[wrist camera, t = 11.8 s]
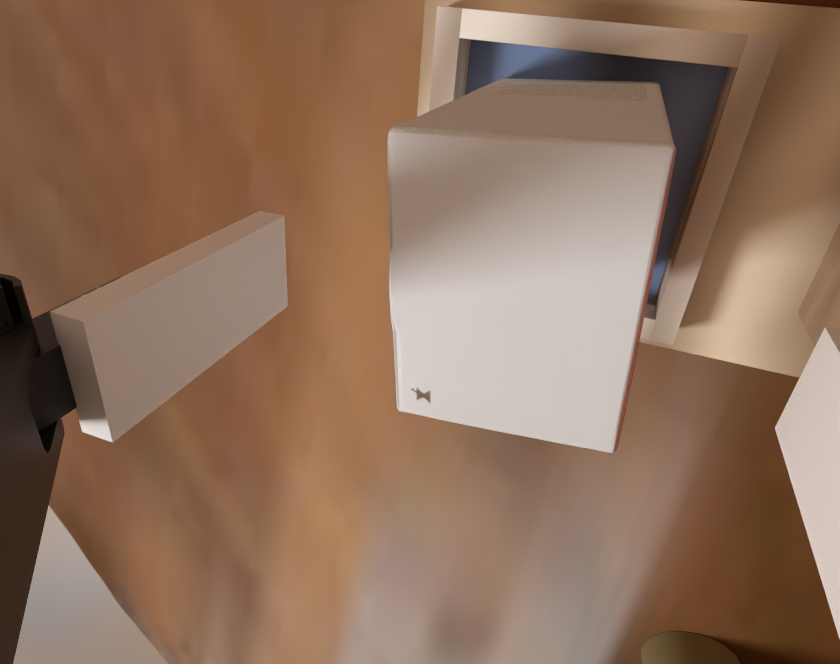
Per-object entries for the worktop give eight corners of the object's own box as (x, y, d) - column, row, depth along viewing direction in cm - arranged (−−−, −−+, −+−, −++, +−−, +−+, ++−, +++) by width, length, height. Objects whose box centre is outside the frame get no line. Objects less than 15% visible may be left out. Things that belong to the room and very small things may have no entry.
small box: (629, 273, 26) (617, 463, 15) (490, 258, 28) (390, 416, 17) (665, 76, 22) (682, 141, 11) (499, 73, 24) (377, 125, 13)
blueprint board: (1244, 41, 18) (1438, 51, 13) (981, 405, 25) (1051, 488, 20) (436, -24, 24) (389, -31, 20) (412, 280, 31) (375, 323, 27)
